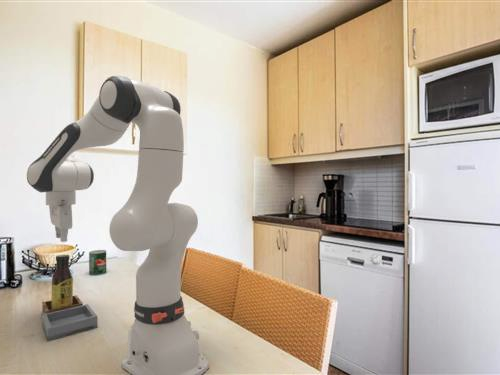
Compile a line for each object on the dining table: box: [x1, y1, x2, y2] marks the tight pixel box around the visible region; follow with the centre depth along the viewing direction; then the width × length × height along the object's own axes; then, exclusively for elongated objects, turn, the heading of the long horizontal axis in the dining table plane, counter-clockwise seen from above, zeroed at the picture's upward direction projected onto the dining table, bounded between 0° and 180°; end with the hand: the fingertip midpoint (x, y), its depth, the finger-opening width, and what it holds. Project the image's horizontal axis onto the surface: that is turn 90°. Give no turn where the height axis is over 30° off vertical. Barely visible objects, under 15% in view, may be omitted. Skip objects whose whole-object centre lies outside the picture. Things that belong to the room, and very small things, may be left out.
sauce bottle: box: [51, 254, 74, 310], centre depth 107 cm, size 7×6×20 cm
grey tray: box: [41, 303, 99, 342], centre depth 97 cm, size 13×13×4 cm
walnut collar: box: [41, 295, 84, 314], centre depth 107 cm, size 11×11×4 cm
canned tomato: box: [88, 249, 107, 277], centre depth 156 cm, size 8×8×11 cm
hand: (61, 239), depth 107 cm, fingers open, 8 cm apart
